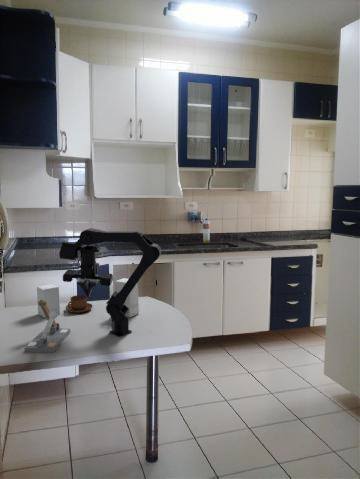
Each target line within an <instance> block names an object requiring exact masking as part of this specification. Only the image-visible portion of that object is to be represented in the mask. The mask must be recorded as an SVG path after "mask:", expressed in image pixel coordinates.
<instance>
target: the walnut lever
mask: <svg viewBox="0 0 360 479" xmlns="http://www.w3.org/2000/svg"><path fill="white" fill-rule="evenodd" d="M38 304H39V306H41V308H42V310H43V312H44V314H45V316H46V319H47V321H48V320H49V318H50V316H49V314H50V311H49V309H48V307H47V305H46V301H45V300H43V299H42V300H40V301H39V303H38V302H37V305H38ZM56 323H57V322H56V321H55V319H54V320H53V323H52V325H51V327H56V328H57V324H56Z"/></svg>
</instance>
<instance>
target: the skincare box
mask: <svg viewBox="0 0 360 479" xmlns="http://www.w3.org/2000/svg"><path fill="white" fill-rule="evenodd" d="M128 279H129V278H120V279H118V280H115V281H114V287H115V288H114V289H115V291H116V292H117V293H118V292H119V291H120V290H121V289H122V288H123V286H124V285H125V284H126V282H127V281H128ZM138 282H139V281H138ZM138 282H137V284H136V285H135V287H134V288H133V290H132V291H131V292H130V294H129V295H128V298H127V300H126V302H125V305H126V306H127V307H128V308H129V313H128V314H127V317H128V318H132V317H134V316H137V315H139V314H140V309H139V308H140V306H139V305H140V304H139V287H138V286H139V285H138ZM115 291H114V292H115Z"/></svg>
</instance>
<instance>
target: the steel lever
mask: <svg viewBox="0 0 360 479" xmlns="http://www.w3.org/2000/svg"><path fill="white" fill-rule="evenodd" d="M49 316H50V318H49V320H47V322H46V325H45V327H44V329H43V330H44V331H43V330H42V331H43V334H42V336H41V338H40V340H43V342H44V341H45V339H46V336H47V334H48V332H49V330H50V327H51V325H52V323H53V320H55V319H56V318H58V316H59V315H58V314H57V312H56V311H51V312H50V314H49Z"/></svg>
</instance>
